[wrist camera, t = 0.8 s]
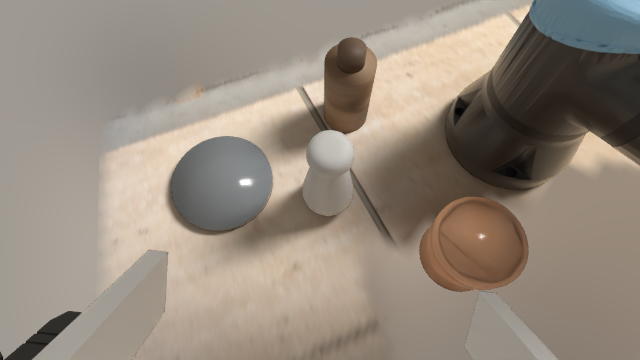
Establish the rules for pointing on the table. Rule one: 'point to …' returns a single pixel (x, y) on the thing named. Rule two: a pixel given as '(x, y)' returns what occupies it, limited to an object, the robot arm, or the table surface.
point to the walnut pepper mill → (348, 84)
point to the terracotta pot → (474, 246)
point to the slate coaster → (222, 183)
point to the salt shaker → (329, 173)
